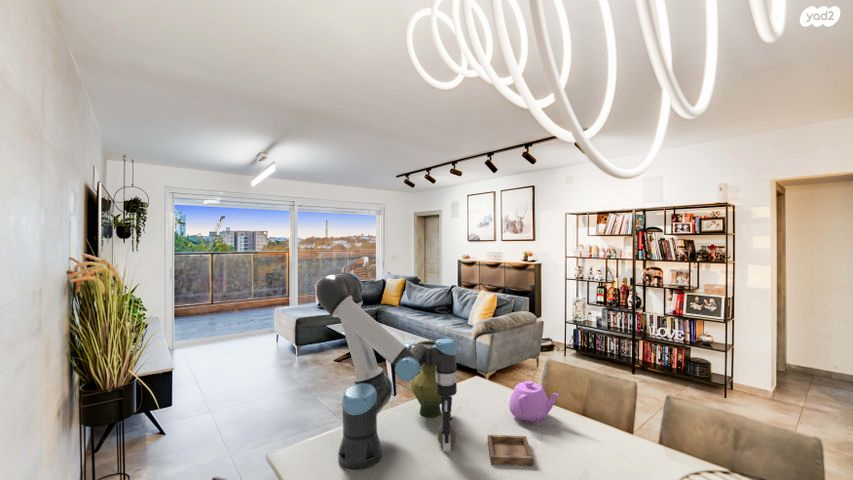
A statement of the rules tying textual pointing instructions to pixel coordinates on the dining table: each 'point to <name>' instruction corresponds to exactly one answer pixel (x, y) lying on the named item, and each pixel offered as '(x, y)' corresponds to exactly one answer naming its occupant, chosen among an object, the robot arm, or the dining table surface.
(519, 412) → the teapot
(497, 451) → the walnut tray
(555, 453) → the dining table surface
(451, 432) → the vase
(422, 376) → the vase
